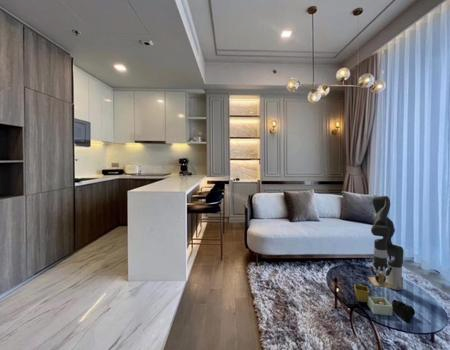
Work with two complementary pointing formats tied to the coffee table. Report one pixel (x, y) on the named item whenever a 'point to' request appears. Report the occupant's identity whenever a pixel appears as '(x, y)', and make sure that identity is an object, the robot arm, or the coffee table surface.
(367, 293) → the flower pot
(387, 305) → the pale green open box
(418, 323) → the coffee table surface
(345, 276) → the coffee table surface
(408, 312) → the film camera
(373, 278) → the lid
